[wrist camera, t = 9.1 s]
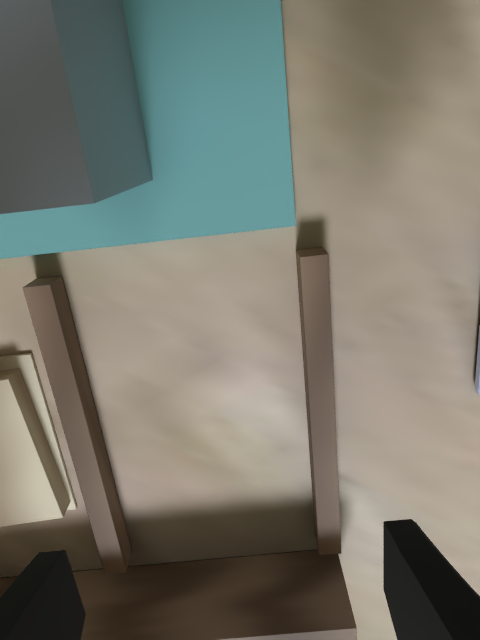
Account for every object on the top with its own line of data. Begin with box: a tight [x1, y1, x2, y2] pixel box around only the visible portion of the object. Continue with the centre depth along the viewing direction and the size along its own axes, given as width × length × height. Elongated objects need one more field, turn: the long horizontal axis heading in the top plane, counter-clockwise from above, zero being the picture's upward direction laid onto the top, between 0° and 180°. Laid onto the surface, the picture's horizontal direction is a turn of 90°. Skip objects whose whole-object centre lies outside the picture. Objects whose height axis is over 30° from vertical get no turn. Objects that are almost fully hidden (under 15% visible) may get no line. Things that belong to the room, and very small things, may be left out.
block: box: [0, 0, 153, 214], centre depth 11 cm, size 2×8×7 cm, turn 6°
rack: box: [0, 247, 357, 640], centre depth 19 cm, size 19×16×4 cm
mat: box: [0, 0, 296, 259], centre depth 15 cm, size 12×12×1 cm
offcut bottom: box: [0, 353, 77, 510], centre depth 21 cm, size 5×8×1 cm, turn 6°
